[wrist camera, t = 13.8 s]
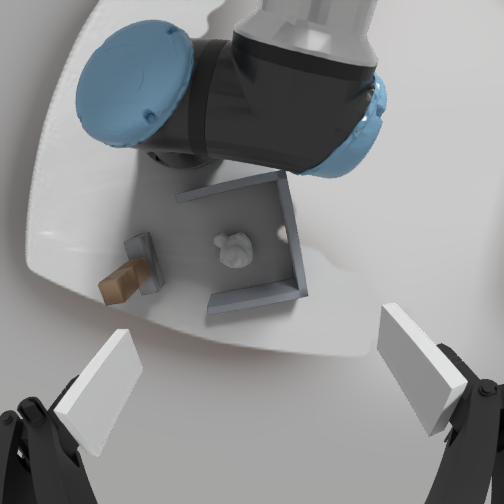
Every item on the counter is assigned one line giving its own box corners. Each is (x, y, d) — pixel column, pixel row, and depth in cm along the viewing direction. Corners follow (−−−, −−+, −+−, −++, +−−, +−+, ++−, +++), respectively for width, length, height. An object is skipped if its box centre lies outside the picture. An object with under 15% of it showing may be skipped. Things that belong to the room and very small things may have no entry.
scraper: (134, 236, 43) (89, 261, 29) (149, 232, 42) (107, 256, 29) (149, 285, 45) (114, 325, 31) (164, 282, 45) (132, 323, 31)
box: (184, 192, 41) (174, 194, 36) (281, 170, 39) (285, 169, 35) (213, 300, 45) (208, 314, 41) (303, 283, 44) (308, 296, 39)
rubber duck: (240, 270, 44) (237, 290, 36) (207, 245, 43) (197, 261, 35) (262, 244, 43) (263, 260, 35) (228, 218, 42) (222, 228, 34)
